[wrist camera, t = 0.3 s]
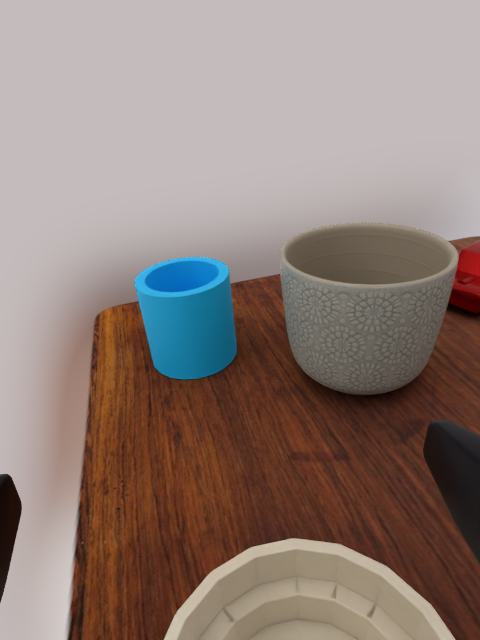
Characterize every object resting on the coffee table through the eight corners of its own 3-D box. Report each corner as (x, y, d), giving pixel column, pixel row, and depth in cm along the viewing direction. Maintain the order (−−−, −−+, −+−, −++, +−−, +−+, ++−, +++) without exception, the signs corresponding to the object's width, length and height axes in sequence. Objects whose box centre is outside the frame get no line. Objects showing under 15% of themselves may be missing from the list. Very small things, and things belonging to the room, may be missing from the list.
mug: (229, 380, 35) (219, 297, 31) (140, 378, 37) (119, 297, 33) (247, 311, 45) (241, 241, 41) (176, 311, 47) (164, 243, 43)
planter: (450, 424, 29) (484, 286, 24) (276, 413, 31) (270, 285, 26) (417, 330, 39) (436, 220, 34) (289, 327, 42) (286, 223, 36)
